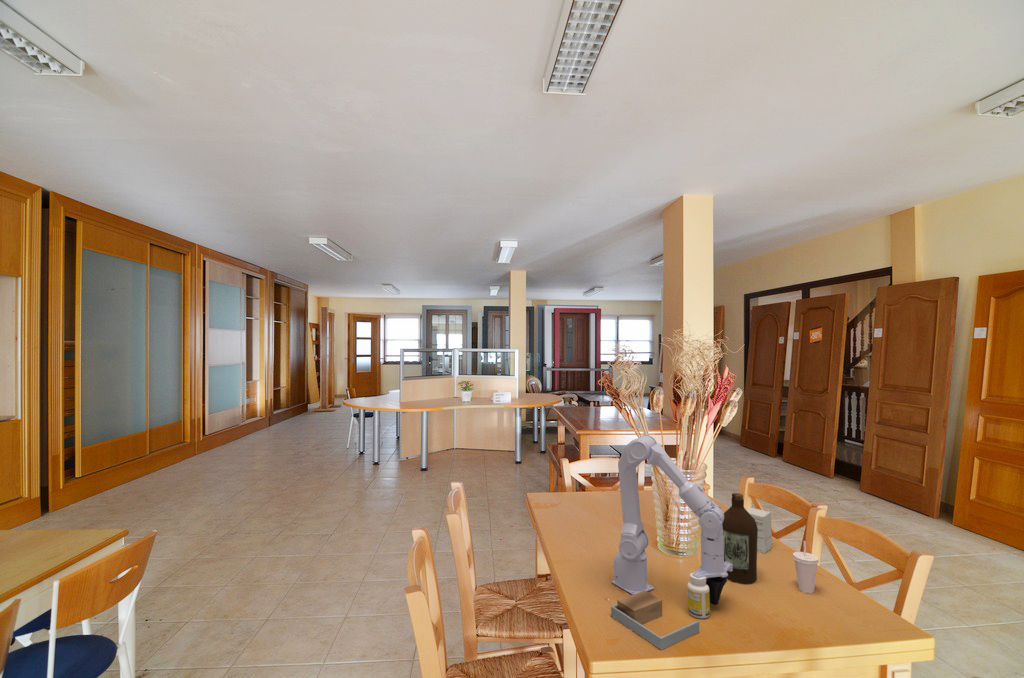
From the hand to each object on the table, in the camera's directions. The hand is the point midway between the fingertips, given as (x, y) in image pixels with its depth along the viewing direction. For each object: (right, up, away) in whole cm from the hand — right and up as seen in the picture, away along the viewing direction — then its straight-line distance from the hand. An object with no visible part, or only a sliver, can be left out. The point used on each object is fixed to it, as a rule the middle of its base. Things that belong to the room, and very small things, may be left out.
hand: (713, 603), depth 126 cm
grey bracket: (-19, -1, -8) cm, 20 cm away
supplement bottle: (-5, -1, -3) cm, 6 cm away
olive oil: (+15, -2, +17) cm, 23 cm away
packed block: (-21, -1, -4) cm, 21 cm away
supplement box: (+32, -3, +39) cm, 51 cm away
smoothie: (+31, -2, +9) cm, 32 cm away
